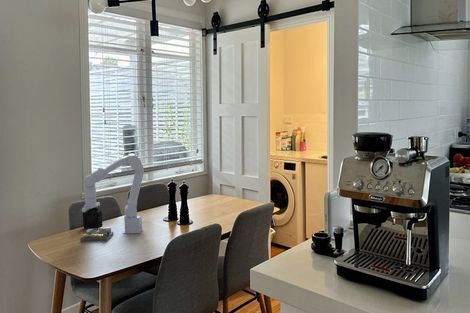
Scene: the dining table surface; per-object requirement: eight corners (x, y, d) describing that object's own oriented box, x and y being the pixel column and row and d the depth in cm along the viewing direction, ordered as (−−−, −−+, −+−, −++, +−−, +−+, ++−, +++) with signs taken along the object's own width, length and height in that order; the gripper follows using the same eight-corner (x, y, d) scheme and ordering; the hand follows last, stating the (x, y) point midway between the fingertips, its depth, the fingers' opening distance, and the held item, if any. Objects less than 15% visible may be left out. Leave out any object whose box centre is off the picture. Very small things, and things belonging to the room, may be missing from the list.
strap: (107, 235, 216) (107, 234, 216) (106, 237, 214) (106, 235, 214) (84, 235, 216) (84, 233, 216) (82, 236, 214) (82, 235, 214)
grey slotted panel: (113, 235, 224) (112, 227, 224) (107, 241, 213) (106, 233, 213) (88, 235, 224) (87, 227, 224) (80, 241, 213) (80, 233, 213)
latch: (92, 232, 221) (92, 229, 221) (90, 235, 217) (89, 231, 217) (88, 233, 221) (88, 229, 221) (85, 235, 217) (85, 231, 217)
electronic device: (98, 228, 236) (98, 212, 235) (83, 228, 238) (82, 211, 237) (102, 226, 240) (101, 210, 239) (87, 226, 242) (86, 209, 241)
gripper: (91, 194, 229) (93, 217, 230) (76, 200, 215) (77, 225, 216) (103, 194, 227) (104, 218, 229) (87, 200, 213) (89, 225, 215)
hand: (91, 221), depth 222 cm, fingers closed
